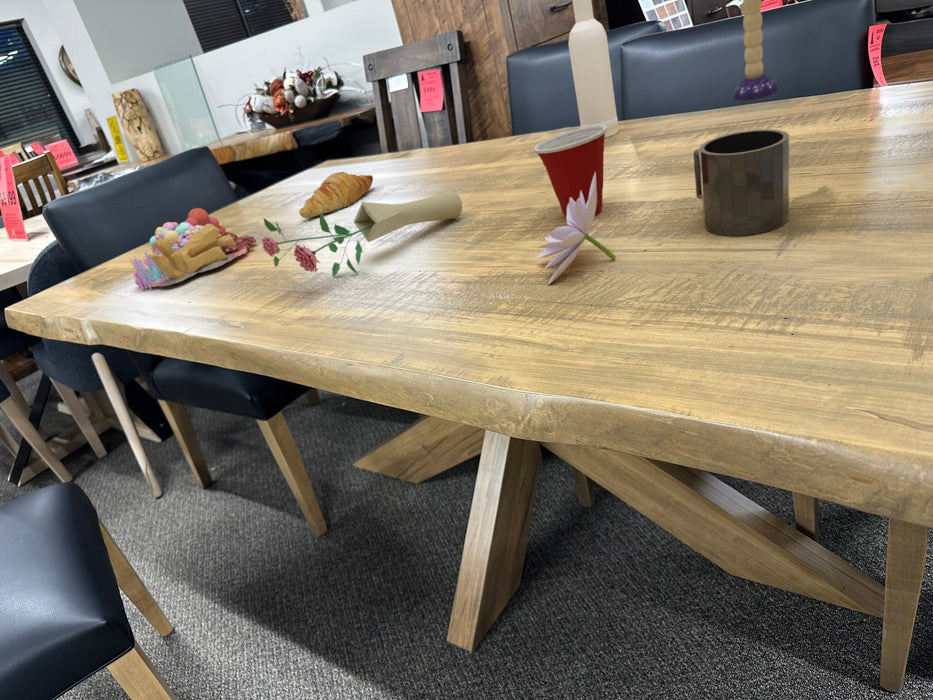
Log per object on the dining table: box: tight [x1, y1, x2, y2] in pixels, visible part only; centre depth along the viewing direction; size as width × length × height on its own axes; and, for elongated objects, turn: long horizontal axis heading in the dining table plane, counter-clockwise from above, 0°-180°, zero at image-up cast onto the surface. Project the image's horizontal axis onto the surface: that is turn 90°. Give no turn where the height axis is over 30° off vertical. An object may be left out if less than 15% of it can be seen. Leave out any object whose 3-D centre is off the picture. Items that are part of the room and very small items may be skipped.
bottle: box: [568, 0, 620, 139], centre depth 133 cm, size 8×8×30 cm
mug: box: [692, 128, 790, 237], centre depth 79 cm, size 13×10×10 cm
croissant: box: [298, 171, 374, 219], centre depth 141 cm, size 21×10×8 cm, turn 141°
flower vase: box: [261, 190, 463, 277], centre depth 101 cm, size 12×12×35 cm
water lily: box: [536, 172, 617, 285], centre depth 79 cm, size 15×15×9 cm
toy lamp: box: [733, 0, 779, 102], centre depth 64 cm, size 5×5×17 cm
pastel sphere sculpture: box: [129, 207, 257, 291], centre depth 125 cm, size 25×24×9 cm
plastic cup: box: [533, 125, 607, 218], centre depth 95 cm, size 11×11×12 cm
